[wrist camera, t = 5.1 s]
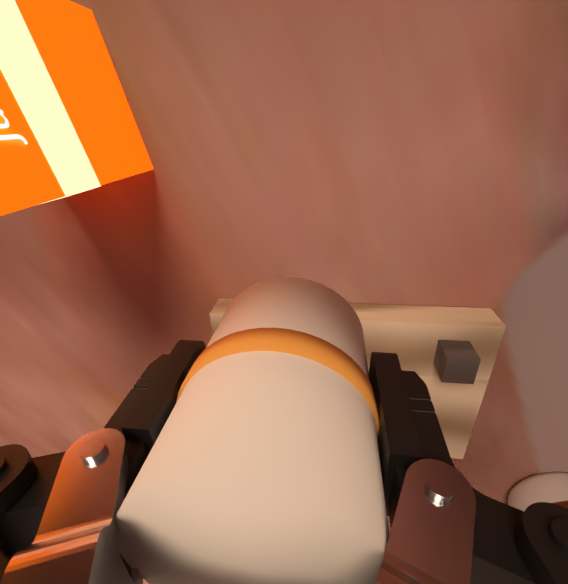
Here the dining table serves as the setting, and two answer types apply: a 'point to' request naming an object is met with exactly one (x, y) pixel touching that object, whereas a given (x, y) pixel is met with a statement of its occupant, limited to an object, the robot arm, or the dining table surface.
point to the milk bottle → (540, 490)
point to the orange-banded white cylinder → (266, 453)
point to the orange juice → (60, 106)
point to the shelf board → (432, 355)
